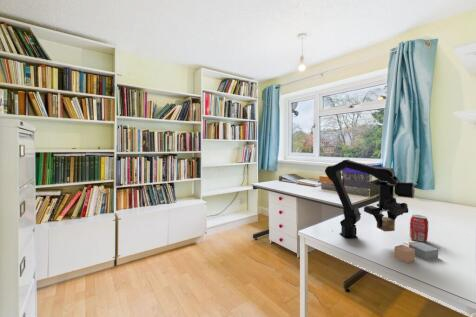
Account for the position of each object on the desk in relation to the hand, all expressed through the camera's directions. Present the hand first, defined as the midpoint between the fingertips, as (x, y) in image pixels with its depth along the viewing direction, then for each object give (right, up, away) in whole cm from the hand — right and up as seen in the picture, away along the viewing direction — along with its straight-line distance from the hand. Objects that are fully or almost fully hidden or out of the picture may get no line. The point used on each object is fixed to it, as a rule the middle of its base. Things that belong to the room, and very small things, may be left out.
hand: (385, 226), depth 104 cm
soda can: (+21, -9, +6) cm, 23 cm away
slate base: (+11, -10, -8) cm, 17 cm away
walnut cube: (0, -1, 0) cm, 1 cm away
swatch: (+15, -9, 0) cm, 18 cm away
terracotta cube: (0, -10, -11) cm, 15 cm away
